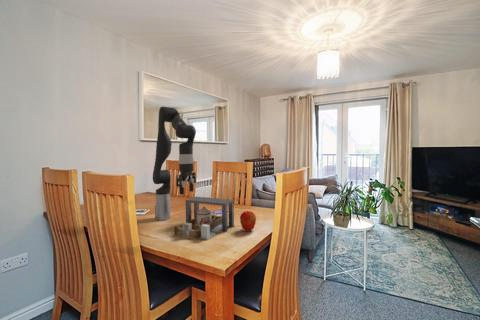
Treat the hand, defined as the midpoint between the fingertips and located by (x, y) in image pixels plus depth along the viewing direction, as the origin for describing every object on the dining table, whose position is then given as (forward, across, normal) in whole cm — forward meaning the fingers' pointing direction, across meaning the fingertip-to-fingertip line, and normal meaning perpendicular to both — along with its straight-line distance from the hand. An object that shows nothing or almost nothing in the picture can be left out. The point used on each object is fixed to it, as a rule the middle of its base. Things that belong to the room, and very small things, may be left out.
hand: (186, 192), depth 125 cm
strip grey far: (+24, -16, +10) cm, 30 cm away
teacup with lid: (+24, -19, 0) cm, 31 cm away
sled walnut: (+24, -13, 0) cm, 27 cm away
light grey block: (+24, -4, +10) cm, 26 cm away
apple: (+24, -21, +27) cm, 42 cm away
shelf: (+24, -19, +2) cm, 31 cm away
